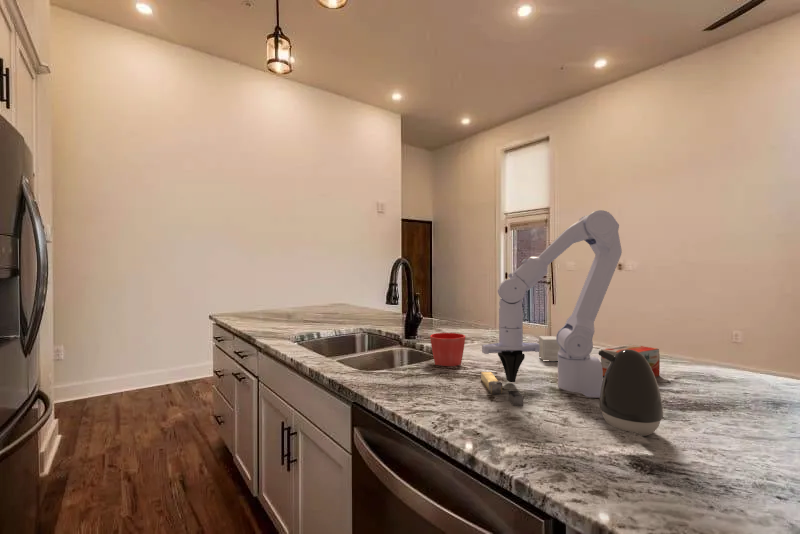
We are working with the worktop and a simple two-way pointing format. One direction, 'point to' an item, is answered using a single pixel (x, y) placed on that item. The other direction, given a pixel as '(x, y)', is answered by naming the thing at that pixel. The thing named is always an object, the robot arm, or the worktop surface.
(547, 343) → the product box
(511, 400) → the block
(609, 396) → the pump dispenser
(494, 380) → the latch arm
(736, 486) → the worktop surface
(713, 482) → the worktop surface
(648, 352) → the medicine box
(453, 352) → the flower pot
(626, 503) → the worktop surface
